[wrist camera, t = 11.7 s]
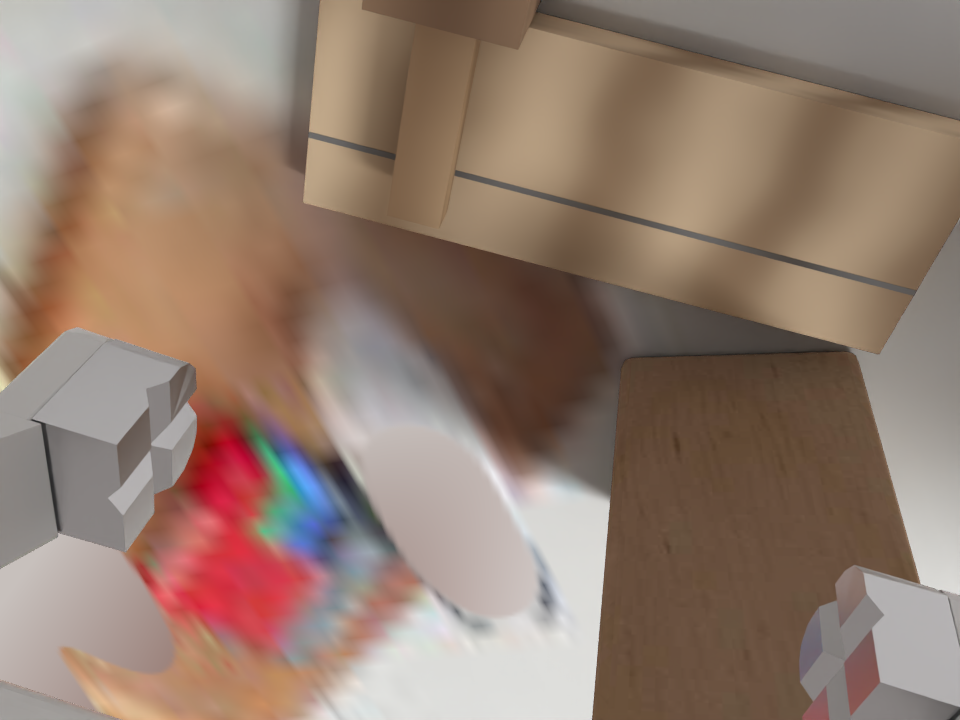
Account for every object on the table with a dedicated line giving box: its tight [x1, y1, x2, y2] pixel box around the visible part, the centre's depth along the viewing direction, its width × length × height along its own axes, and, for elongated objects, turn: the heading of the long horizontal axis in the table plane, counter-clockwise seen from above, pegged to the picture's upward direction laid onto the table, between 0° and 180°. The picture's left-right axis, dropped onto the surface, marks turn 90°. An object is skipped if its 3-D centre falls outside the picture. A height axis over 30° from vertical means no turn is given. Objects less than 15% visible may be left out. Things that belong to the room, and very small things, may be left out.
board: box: [303, 0, 960, 354], centre depth 34 cm, size 24×9×2 cm, turn 79°
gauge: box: [362, 0, 541, 229], centre depth 31 cm, size 5×12×6 cm, turn 169°
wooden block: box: [592, 351, 920, 720], centre depth 34 cm, size 10×10×20 cm
